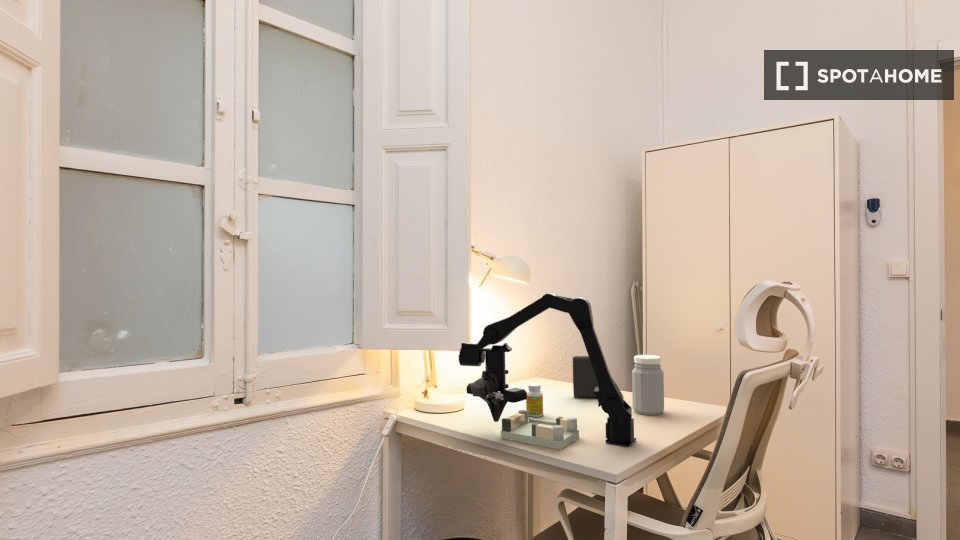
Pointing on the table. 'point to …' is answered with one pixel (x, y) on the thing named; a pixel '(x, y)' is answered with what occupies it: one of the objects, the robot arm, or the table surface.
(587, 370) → the card reader
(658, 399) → the jar
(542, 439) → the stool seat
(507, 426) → the hinged leg
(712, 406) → the table surface
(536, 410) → the supplement bottle
